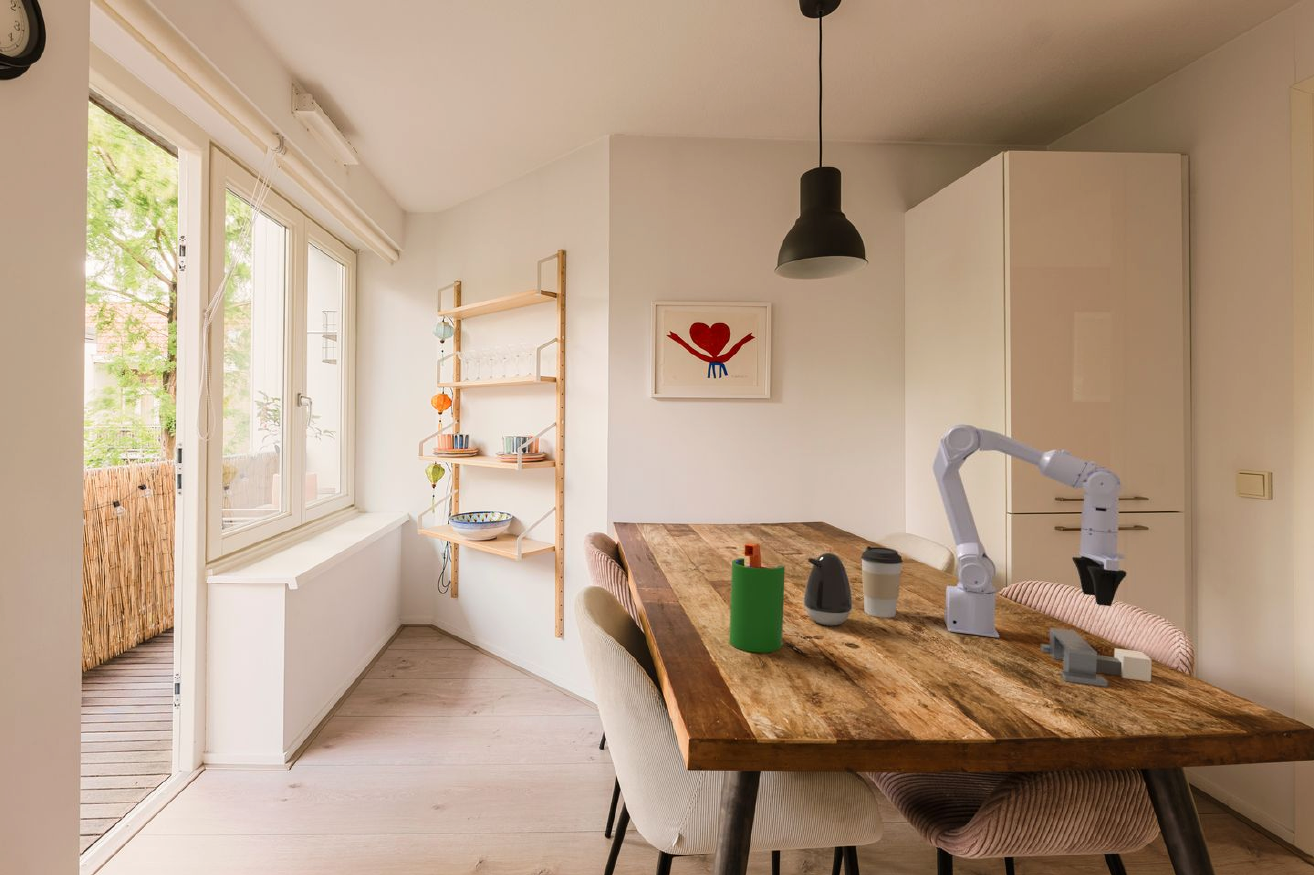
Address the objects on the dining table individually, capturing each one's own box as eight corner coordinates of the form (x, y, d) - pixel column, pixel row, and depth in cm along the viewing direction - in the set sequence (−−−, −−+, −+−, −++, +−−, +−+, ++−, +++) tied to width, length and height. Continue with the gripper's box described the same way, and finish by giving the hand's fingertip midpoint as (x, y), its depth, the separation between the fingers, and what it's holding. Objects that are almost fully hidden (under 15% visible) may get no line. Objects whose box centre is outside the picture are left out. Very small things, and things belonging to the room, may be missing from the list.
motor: (785, 641, 116) (788, 540, 116) (775, 657, 108) (778, 548, 108) (736, 632, 120) (739, 535, 120) (722, 647, 112) (725, 543, 112)
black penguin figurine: (793, 616, 132) (795, 549, 131) (831, 612, 135) (833, 547, 135) (821, 632, 122) (823, 559, 122) (861, 627, 126) (864, 556, 126)
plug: (1092, 673, 104) (1092, 652, 104) (1084, 664, 108) (1085, 644, 108) (1150, 681, 101) (1151, 659, 101) (1140, 672, 105) (1141, 651, 105)
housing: (1065, 680, 101) (1066, 652, 101) (1040, 648, 116) (1041, 623, 116) (1107, 687, 99) (1108, 657, 98) (1076, 653, 114) (1077, 627, 113)
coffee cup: (904, 611, 138) (906, 547, 137) (896, 621, 130) (899, 554, 130) (864, 604, 142) (866, 543, 142) (855, 614, 135) (857, 549, 135)
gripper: (1140, 538, 106) (1137, 613, 106) (1110, 526, 119) (1107, 592, 119) (1093, 534, 108) (1090, 607, 108) (1069, 523, 122) (1066, 588, 122)
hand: (1096, 599), depth 114 cm, fingers open, 7 cm apart
